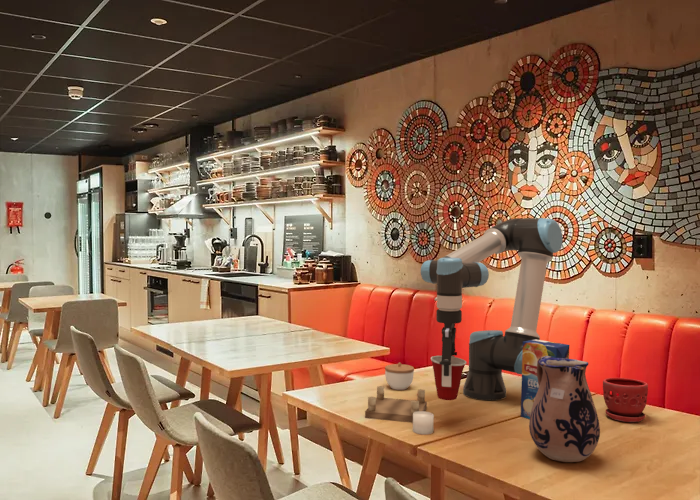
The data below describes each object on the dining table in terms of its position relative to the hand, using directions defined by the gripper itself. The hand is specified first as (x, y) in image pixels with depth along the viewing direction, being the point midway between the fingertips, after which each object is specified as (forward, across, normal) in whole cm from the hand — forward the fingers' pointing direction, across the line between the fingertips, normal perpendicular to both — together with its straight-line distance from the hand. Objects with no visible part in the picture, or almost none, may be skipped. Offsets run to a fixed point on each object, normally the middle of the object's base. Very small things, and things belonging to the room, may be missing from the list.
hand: (448, 381), depth 186 cm
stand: (+13, -7, -17) cm, 22 cm away
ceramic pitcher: (+13, +17, +31) cm, 37 cm away
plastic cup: (+5, 0, 0) cm, 5 cm away
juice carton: (+14, -14, +29) cm, 35 cm away
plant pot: (+14, -23, +54) cm, 60 cm away
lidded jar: (+14, -37, -21) cm, 45 cm away
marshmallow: (+13, +9, -6) cm, 17 cm away
